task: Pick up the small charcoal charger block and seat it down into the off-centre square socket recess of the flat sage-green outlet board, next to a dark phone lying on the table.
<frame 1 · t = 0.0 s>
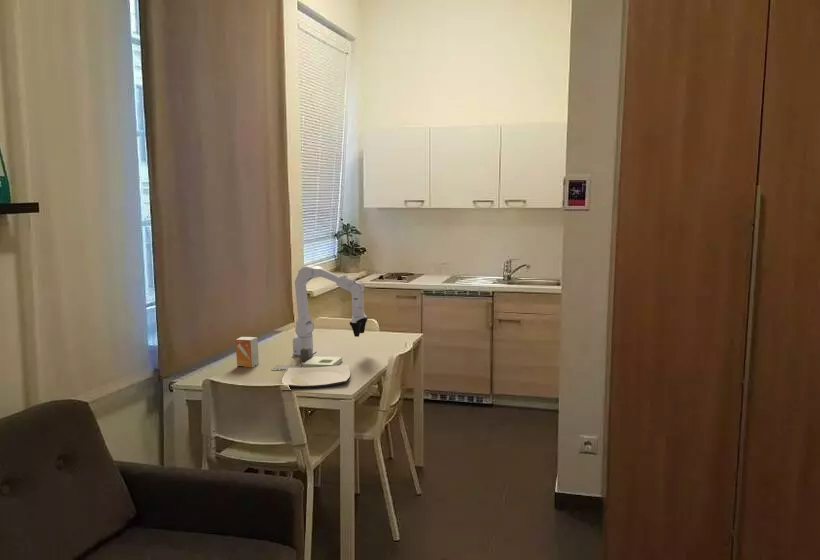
hand: (359, 334, 327), 10 cm above the table, tool pointing down, fingers open, 7 cm apart
phone: (287, 369, 309), on the table
outlet board: (322, 364, 313), on the table
plate: (316, 380, 289), on the table
small box: (248, 365, 316), on the table
charger: (306, 361, 320), on the table
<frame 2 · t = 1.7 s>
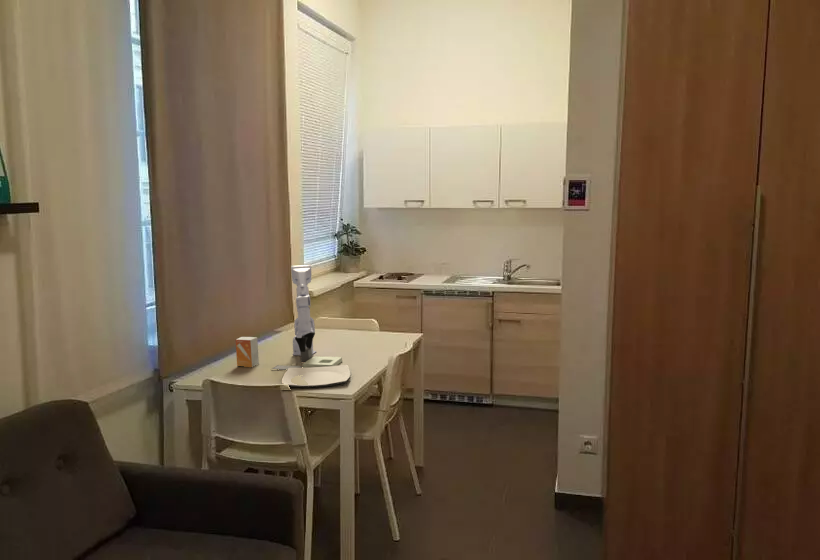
hand: (305, 349, 319), 6 cm above the table, tool pointing down, fingers open, 7 cm apart
nothing on the table moved.
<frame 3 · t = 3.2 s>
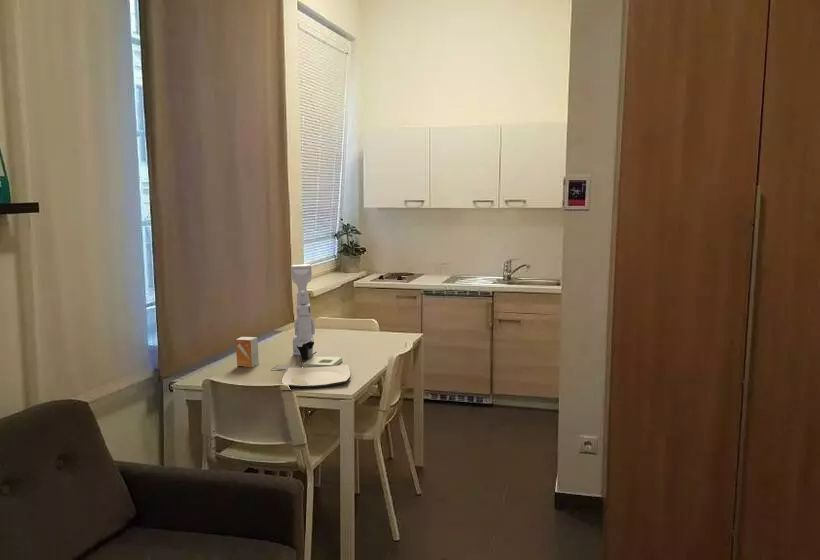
hand: (306, 358, 320), 1 cm above the table, tool pointing down, fingers closed on charger, 4 cm apart
charger: (306, 361, 320), on the table, touching gripper
everything else where it was.
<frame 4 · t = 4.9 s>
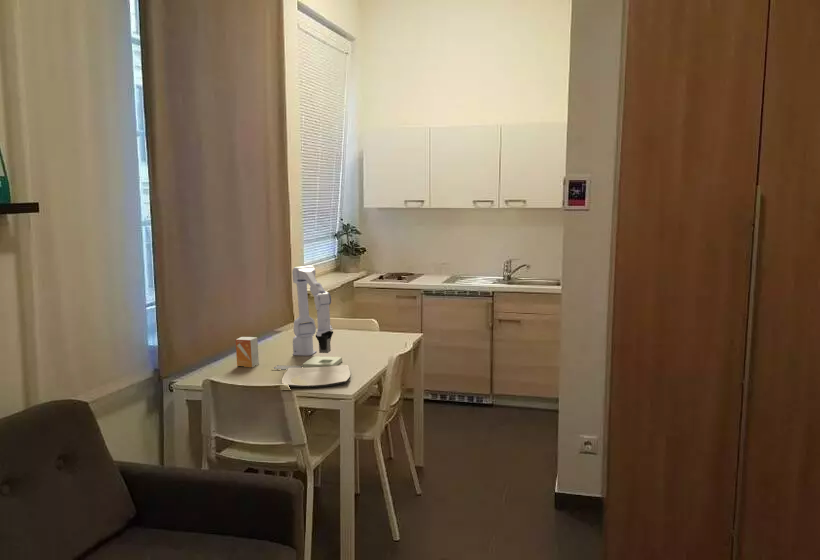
hand: (325, 348, 310), 8 cm above the table, tool pointing down, fingers closed on charger, 4 cm apart
charger: (325, 351, 311), point 6 cm above the table, touching gripper
everything else where it was.
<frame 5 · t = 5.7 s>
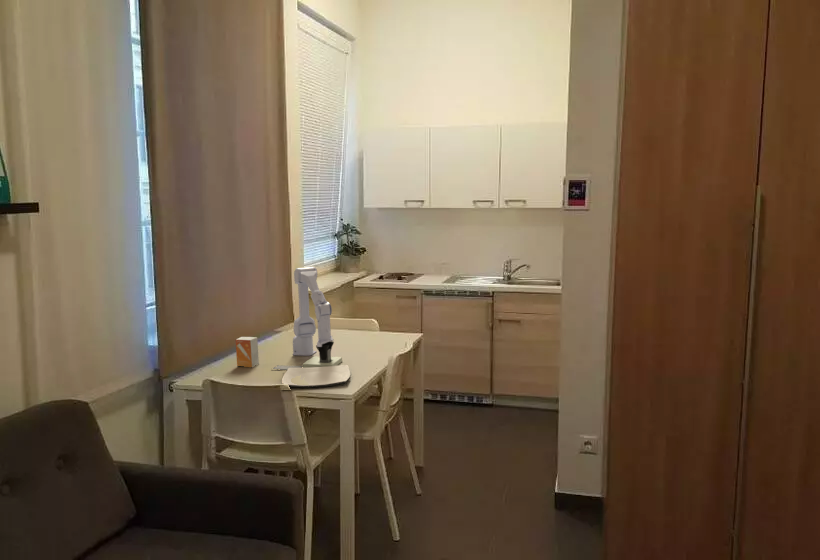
hand: (325, 358, 311), 3 cm above the table, tool pointing down, fingers closed on charger, 4 cm apart
charger: (325, 362, 311), point 1 cm above the table, touching gripper
everything else where it was.
when the fingers open (3 cm above the table, at t = 6.5 s): charger drops 1 cm, resting in outlet board.
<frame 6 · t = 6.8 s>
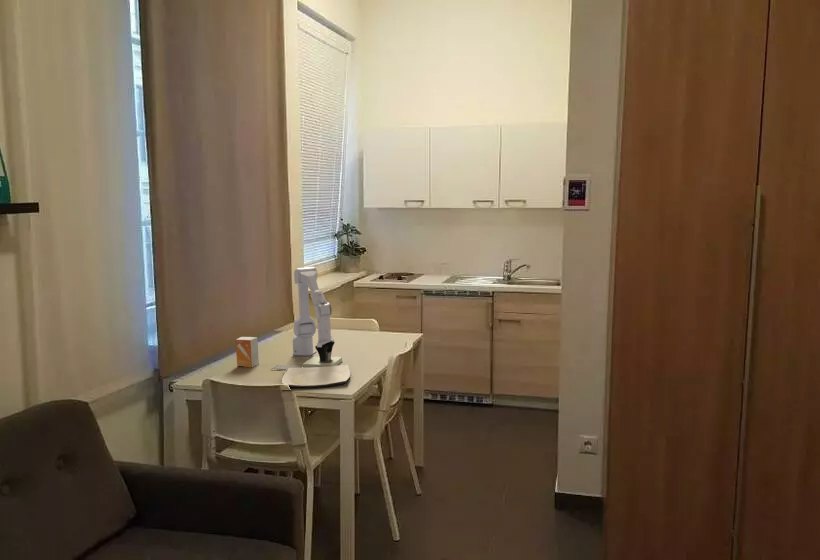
hand: (325, 359, 311), 3 cm above the table, tool pointing down, fingers open, 6 cm apart
charger: (325, 365, 311), resting in outlet board
everything else where it was.
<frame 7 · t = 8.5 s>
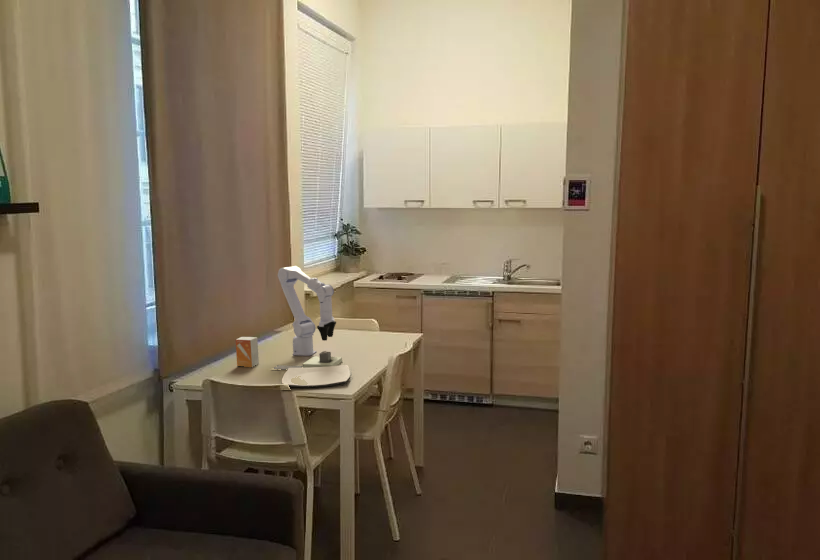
hand: (327, 338, 324), 9 cm above the table, tool pointing down, fingers open, 7 cm apart
nothing on the table moved.
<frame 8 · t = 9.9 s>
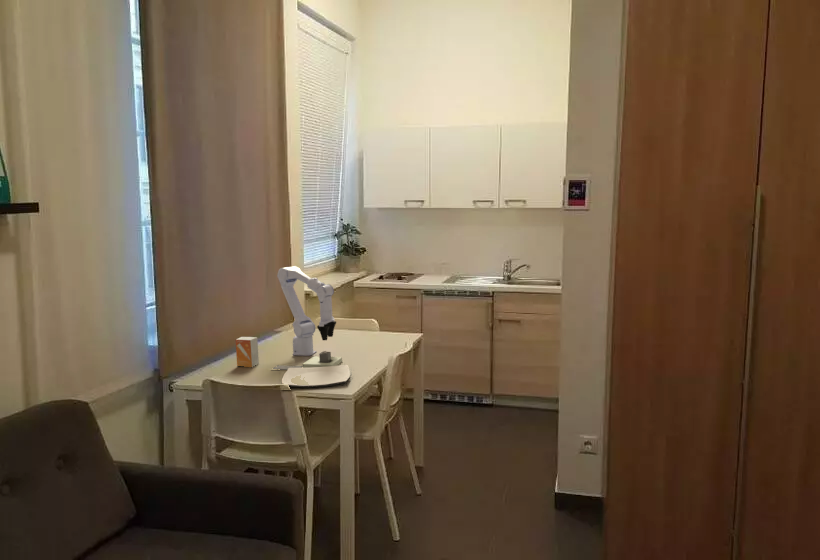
hand: (327, 338, 325), 9 cm above the table, tool pointing down, fingers open, 7 cm apart
nothing on the table moved.
at the end: charger 0.2 cm from the target spot on the outlet board, point 0.0 cm above the outlet board's base; charger tilted 0°; the gripper is holding nothing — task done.
